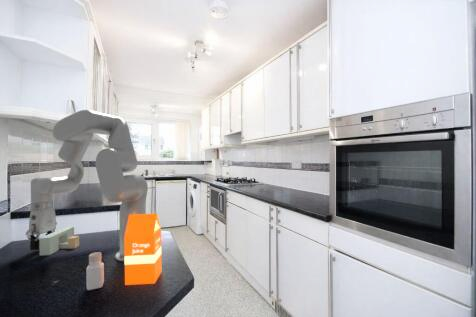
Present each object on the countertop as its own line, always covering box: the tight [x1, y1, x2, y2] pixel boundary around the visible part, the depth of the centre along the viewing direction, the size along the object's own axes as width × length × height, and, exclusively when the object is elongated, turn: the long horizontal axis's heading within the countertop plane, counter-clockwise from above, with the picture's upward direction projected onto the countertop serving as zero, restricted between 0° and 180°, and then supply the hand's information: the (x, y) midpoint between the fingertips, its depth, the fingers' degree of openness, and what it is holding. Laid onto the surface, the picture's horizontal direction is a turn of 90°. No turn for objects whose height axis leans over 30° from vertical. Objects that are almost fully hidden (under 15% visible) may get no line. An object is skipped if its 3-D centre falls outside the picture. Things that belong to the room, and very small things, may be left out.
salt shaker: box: [85, 251, 105, 291], centre depth 68 cm, size 4×4×10 cm
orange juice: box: [123, 213, 163, 286], centre depth 72 cm, size 8×9×20 cm
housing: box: [38, 226, 75, 256], centre depth 101 cm, size 4×16×7 cm, turn 6°
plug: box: [58, 235, 80, 250], centre depth 101 cm, size 14×4×4 cm, turn 96°
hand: (42, 245), depth 100 cm, fingers open, 8 cm apart
